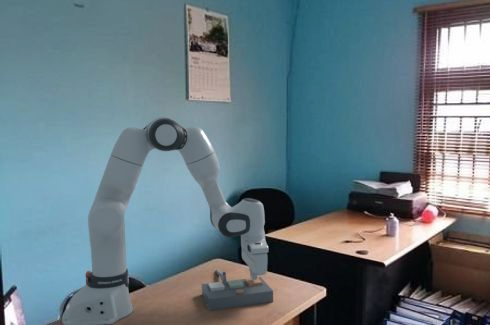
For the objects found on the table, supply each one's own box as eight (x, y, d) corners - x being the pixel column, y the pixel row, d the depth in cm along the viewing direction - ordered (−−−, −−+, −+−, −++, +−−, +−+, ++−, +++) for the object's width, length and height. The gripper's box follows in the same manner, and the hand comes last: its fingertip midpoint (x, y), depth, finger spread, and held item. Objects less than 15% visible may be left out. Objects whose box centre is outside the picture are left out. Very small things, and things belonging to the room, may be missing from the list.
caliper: (226, 289, 162) (226, 273, 161) (223, 289, 162) (223, 273, 161) (217, 271, 182) (217, 257, 181) (215, 271, 182) (215, 257, 181)
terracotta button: (248, 291, 154) (248, 283, 153) (245, 286, 158) (245, 278, 158) (262, 290, 155) (261, 282, 155) (257, 285, 160) (257, 277, 159)
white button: (211, 296, 150) (211, 288, 149) (208, 291, 155) (208, 283, 154) (224, 294, 151) (224, 286, 151) (221, 289, 156) (221, 281, 156)
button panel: (209, 310, 143) (209, 297, 143) (202, 294, 157) (201, 282, 156) (273, 301, 149) (273, 289, 149) (260, 287, 163) (260, 275, 162)
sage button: (230, 294, 152) (230, 286, 151) (227, 288, 156) (226, 281, 156) (243, 292, 153) (243, 284, 153) (240, 287, 158) (239, 279, 157)
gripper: (237, 235, 164) (238, 270, 165) (252, 250, 144) (253, 289, 146) (253, 234, 166) (253, 268, 167) (270, 249, 146) (270, 287, 148)
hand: (253, 278), depth 156 cm, fingers closed
